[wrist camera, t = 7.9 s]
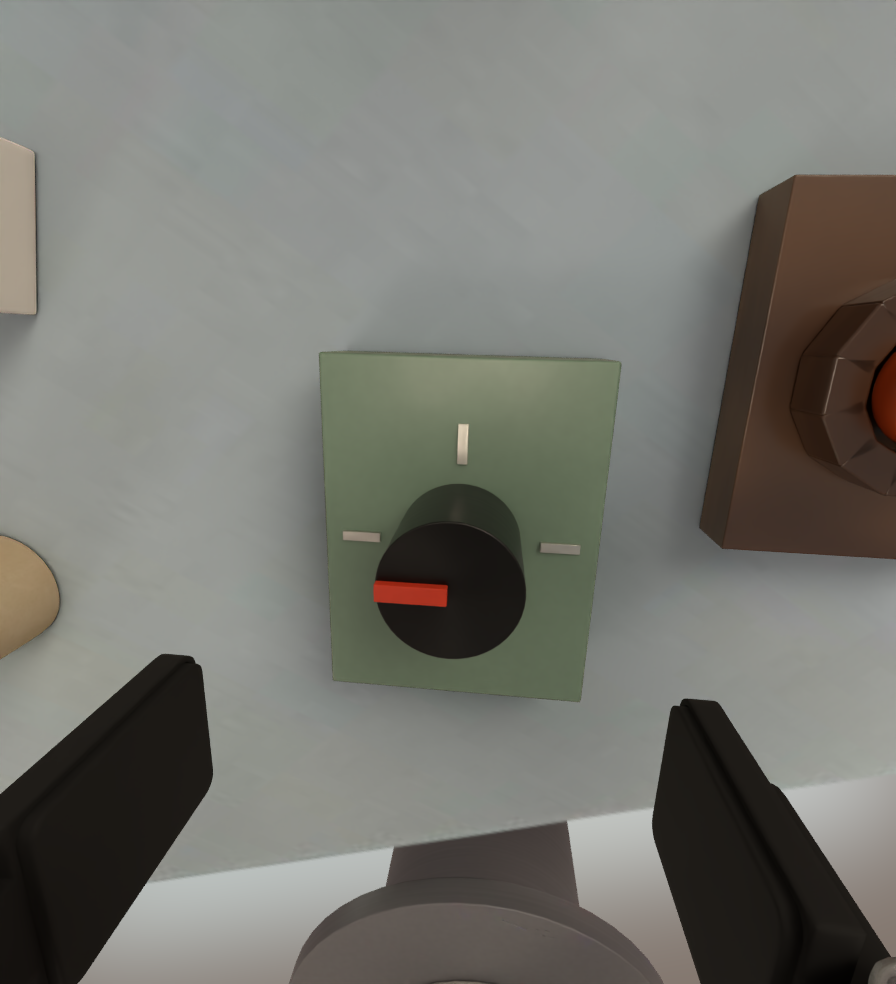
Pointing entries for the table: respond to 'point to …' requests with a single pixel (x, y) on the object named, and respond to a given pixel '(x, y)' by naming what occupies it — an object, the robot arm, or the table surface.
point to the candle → (24, 595)
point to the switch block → (810, 376)
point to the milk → (17, 229)
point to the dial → (453, 574)
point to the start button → (886, 398)
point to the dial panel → (479, 462)
